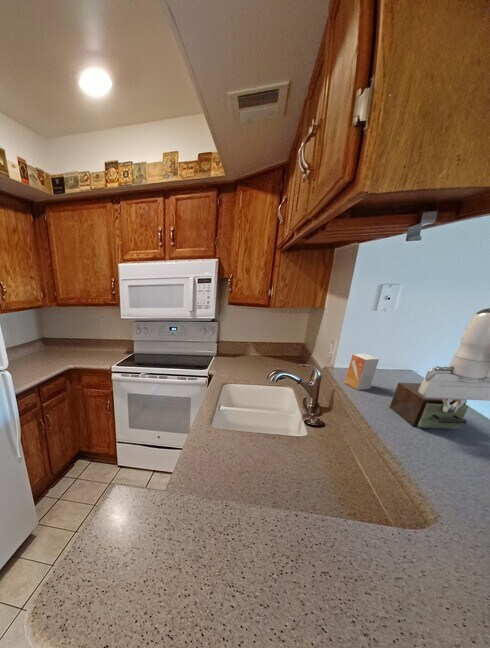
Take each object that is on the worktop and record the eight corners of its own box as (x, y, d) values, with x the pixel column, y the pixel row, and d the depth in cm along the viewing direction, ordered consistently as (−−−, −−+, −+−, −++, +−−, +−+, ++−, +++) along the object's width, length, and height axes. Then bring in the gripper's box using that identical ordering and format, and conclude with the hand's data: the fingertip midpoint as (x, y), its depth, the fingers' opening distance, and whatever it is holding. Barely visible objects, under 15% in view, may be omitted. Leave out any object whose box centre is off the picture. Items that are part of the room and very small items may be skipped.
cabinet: (454, 428, 106) (467, 400, 101) (412, 426, 107) (423, 399, 103) (426, 408, 120) (436, 383, 115) (389, 407, 121) (398, 382, 116)
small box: (344, 383, 143) (352, 354, 137) (357, 382, 144) (365, 353, 138) (356, 390, 136) (365, 359, 130) (370, 389, 137) (379, 358, 131)
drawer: (467, 435, 100) (479, 412, 96) (427, 433, 101) (437, 410, 97) (430, 410, 116) (439, 389, 113) (396, 408, 117) (404, 388, 114)
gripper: (436, 369, 92) (418, 414, 98) (516, 372, 90) (492, 417, 96) (423, 363, 97) (407, 405, 104) (498, 365, 95) (476, 408, 102)
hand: (448, 411), depth 100 cm, fingers closed
